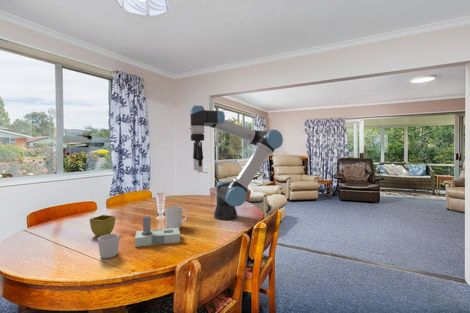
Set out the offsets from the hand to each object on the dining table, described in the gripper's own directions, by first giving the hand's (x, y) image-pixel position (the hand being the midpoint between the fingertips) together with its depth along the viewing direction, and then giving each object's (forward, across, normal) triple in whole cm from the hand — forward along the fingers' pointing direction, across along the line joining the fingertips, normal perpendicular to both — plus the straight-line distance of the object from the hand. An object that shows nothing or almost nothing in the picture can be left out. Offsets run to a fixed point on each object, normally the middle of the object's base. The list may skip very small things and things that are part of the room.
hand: (198, 171), depth 143 cm
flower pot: (+31, -1, -49) cm, 58 cm away
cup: (+31, +27, -42) cm, 59 cm away
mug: (+32, -2, -12) cm, 34 cm away
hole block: (+31, +17, -22) cm, 42 cm away
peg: (+31, +16, -27) cm, 45 cm away
